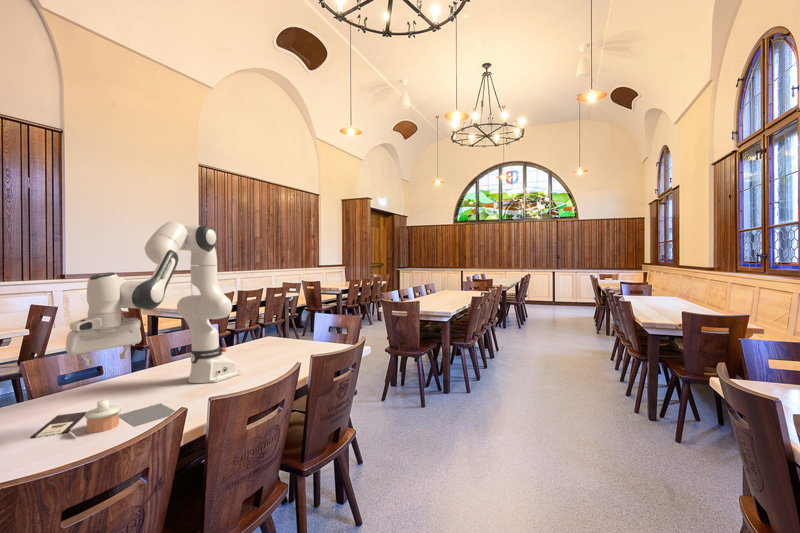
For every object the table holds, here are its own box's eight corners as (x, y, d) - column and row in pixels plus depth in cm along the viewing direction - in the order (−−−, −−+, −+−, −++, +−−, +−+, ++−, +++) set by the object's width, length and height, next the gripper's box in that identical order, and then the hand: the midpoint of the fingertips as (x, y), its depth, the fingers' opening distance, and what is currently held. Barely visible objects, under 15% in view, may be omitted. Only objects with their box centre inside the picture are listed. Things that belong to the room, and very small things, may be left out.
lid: (114, 405, 130) (114, 394, 130) (125, 411, 124) (125, 400, 124) (80, 414, 122) (80, 402, 122) (90, 421, 117) (90, 409, 117)
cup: (113, 421, 129) (113, 406, 129) (122, 427, 124) (121, 411, 124) (83, 429, 122) (83, 414, 122) (91, 436, 118) (91, 420, 118)
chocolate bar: (88, 411, 137) (66, 431, 120) (89, 414, 137) (67, 434, 120) (57, 415, 133) (30, 436, 117) (57, 418, 133) (30, 439, 117)
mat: (160, 404, 144) (160, 403, 144) (179, 413, 135) (179, 412, 135) (116, 416, 133) (116, 415, 133) (133, 427, 123) (133, 426, 123)
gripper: (136, 315, 137) (138, 353, 138) (63, 325, 121) (65, 367, 121) (143, 317, 134) (145, 356, 134) (68, 327, 117) (70, 371, 118)
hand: (106, 361), depth 128 cm, fingers open, 8 cm apart
